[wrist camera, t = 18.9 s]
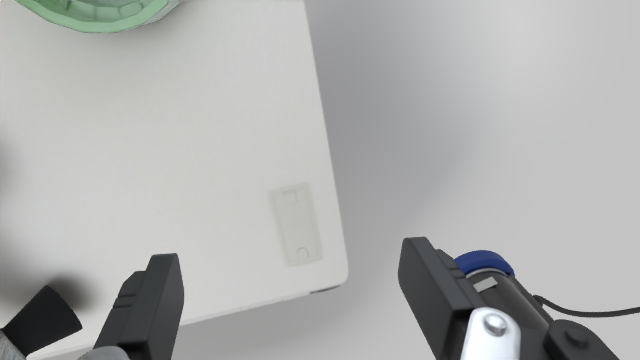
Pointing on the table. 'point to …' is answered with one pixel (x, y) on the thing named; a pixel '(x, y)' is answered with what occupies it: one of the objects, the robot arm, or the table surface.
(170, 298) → the robot arm
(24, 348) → the telephone
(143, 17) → the green bowl
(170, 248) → the table surface
